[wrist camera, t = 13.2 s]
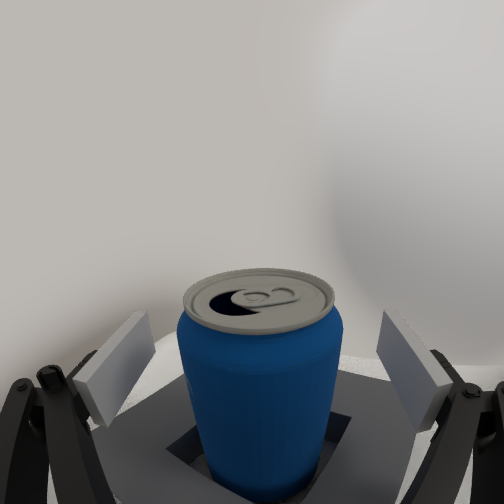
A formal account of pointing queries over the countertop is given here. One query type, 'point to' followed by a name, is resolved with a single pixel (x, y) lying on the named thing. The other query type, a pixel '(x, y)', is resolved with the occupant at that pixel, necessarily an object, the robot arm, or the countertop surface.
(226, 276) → the beverage can
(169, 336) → the countertop surface
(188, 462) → the socket plate
